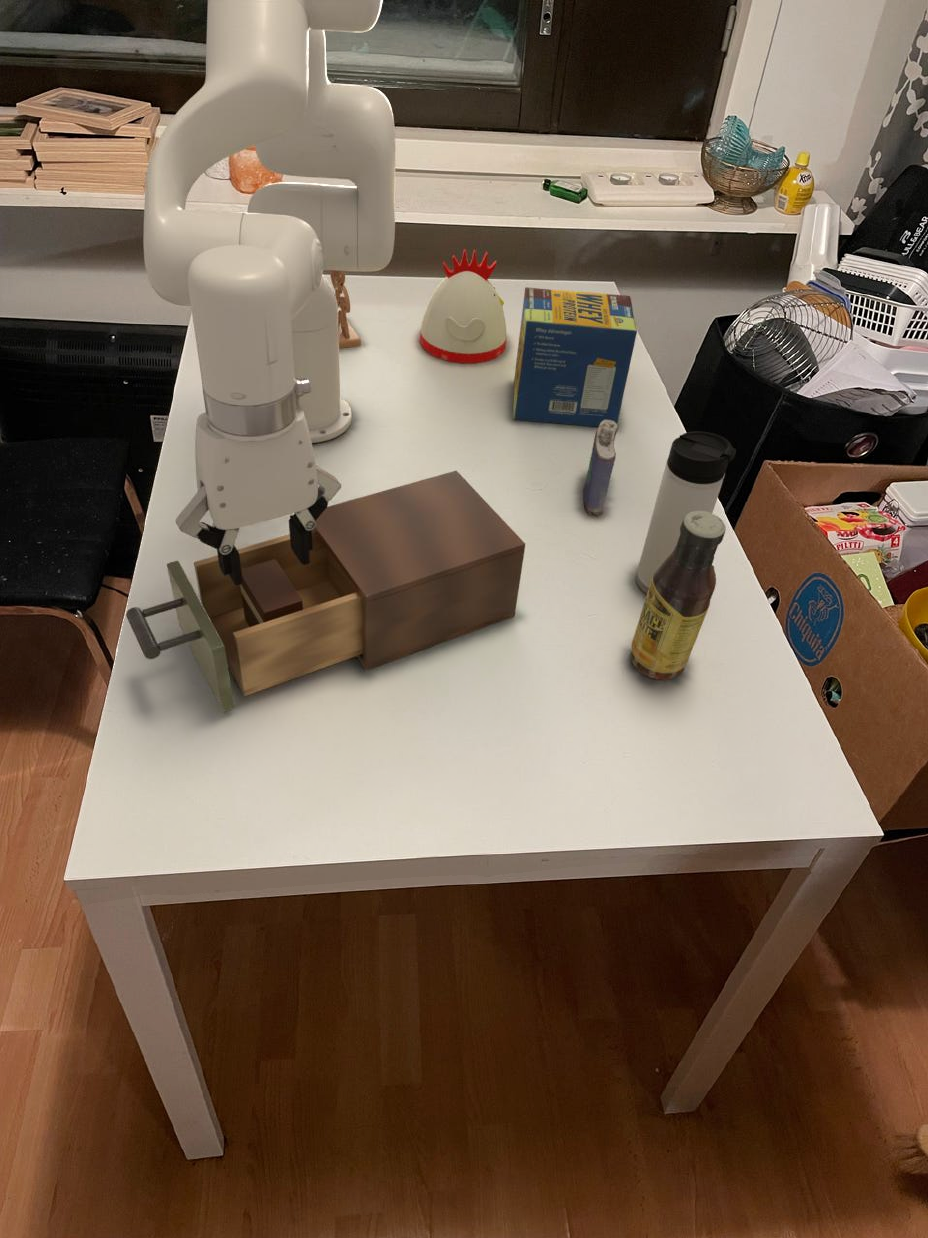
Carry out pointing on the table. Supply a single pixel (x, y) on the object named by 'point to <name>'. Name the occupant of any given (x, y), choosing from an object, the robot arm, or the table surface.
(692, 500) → the travel mug
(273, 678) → the drawer
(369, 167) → the robot arm
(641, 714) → the table surface
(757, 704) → the table surface
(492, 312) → the kitchen timer
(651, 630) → the sauce bottle
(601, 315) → the protein box
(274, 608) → the snack box
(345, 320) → the wooden sculpture
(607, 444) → the flask
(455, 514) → the cabinet
